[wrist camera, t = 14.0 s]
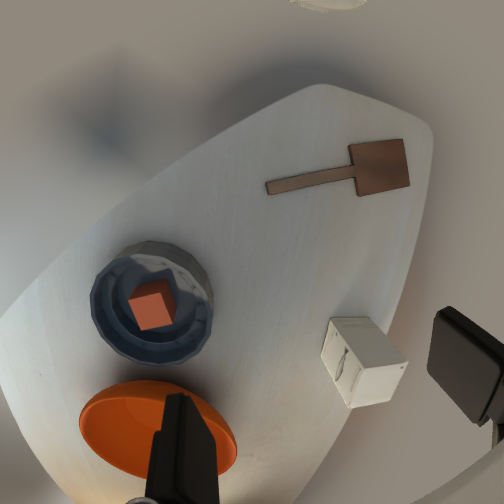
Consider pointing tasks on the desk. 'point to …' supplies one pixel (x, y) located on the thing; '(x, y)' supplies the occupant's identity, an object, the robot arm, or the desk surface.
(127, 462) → the bowl
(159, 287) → the block
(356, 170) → the brown paddle
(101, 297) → the faceted gray tray
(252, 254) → the desk surface
